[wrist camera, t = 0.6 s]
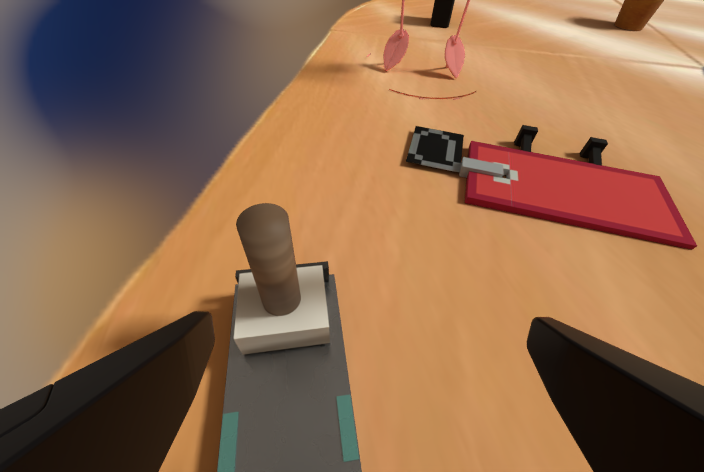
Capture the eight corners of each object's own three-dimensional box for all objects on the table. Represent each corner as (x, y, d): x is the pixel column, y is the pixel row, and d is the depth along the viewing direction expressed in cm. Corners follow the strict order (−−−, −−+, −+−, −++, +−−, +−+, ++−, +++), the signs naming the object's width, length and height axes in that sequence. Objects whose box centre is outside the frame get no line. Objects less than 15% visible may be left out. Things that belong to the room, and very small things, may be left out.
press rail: (374, 579, 17) (381, 590, 14) (211, 617, 16) (186, 636, 13) (334, 284, 28) (333, 259, 26) (239, 294, 27) (229, 270, 25)
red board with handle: (416, 125, 47) (397, 191, 37) (420, 106, 45) (401, 172, 35) (642, 167, 43) (685, 254, 33) (658, 149, 40) (710, 236, 31)
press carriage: (329, 343, 23) (326, 253, 15) (242, 354, 22) (192, 266, 15) (323, 283, 26) (317, 185, 19) (246, 291, 25) (208, 192, 18)
